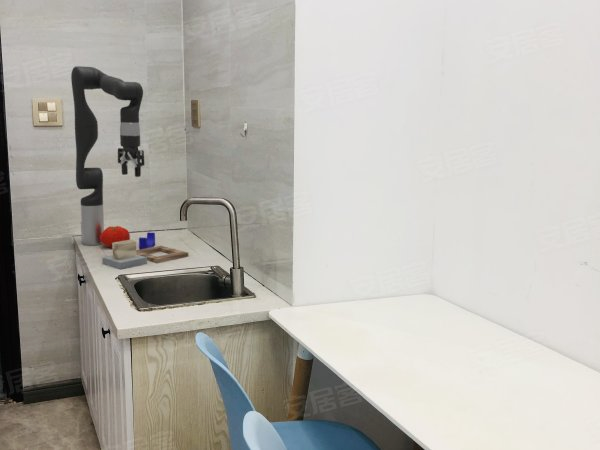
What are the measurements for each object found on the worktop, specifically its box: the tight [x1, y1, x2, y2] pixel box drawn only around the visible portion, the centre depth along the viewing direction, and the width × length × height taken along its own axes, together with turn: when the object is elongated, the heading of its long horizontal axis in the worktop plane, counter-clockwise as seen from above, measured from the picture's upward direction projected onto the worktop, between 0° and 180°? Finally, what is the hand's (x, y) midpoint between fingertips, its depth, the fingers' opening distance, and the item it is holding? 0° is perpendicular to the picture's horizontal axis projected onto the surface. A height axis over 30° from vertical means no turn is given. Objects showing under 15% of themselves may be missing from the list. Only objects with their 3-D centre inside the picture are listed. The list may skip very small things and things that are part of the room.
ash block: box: [111, 239, 137, 260], centre depth 240 cm, size 4×8×6 cm, turn 140°
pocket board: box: [136, 245, 189, 264], centre depth 254 cm, size 18×16×2 cm
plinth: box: [101, 254, 148, 270], centre depth 241 cm, size 12×12×2 cm
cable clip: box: [138, 231, 156, 250], centre depth 266 cm, size 12×4×6 cm, turn 175°
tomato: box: [100, 225, 131, 248], centre depth 267 cm, size 13×12×8 cm
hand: (131, 175), depth 246 cm, fingers open, 8 cm apart
